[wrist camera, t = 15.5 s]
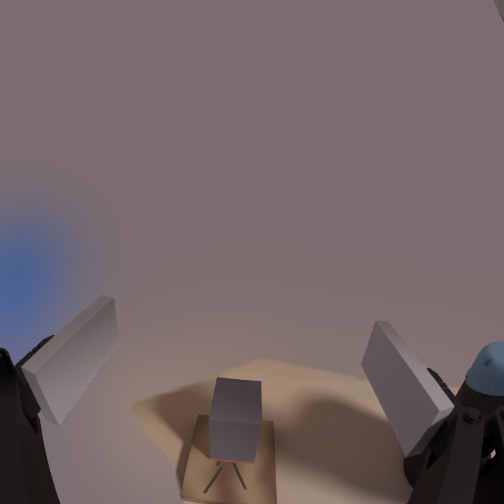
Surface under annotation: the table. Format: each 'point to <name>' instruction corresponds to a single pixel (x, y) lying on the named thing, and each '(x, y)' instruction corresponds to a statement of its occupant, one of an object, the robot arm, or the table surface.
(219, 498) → the oak board
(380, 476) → the table surface
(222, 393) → the block
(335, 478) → the table surface
